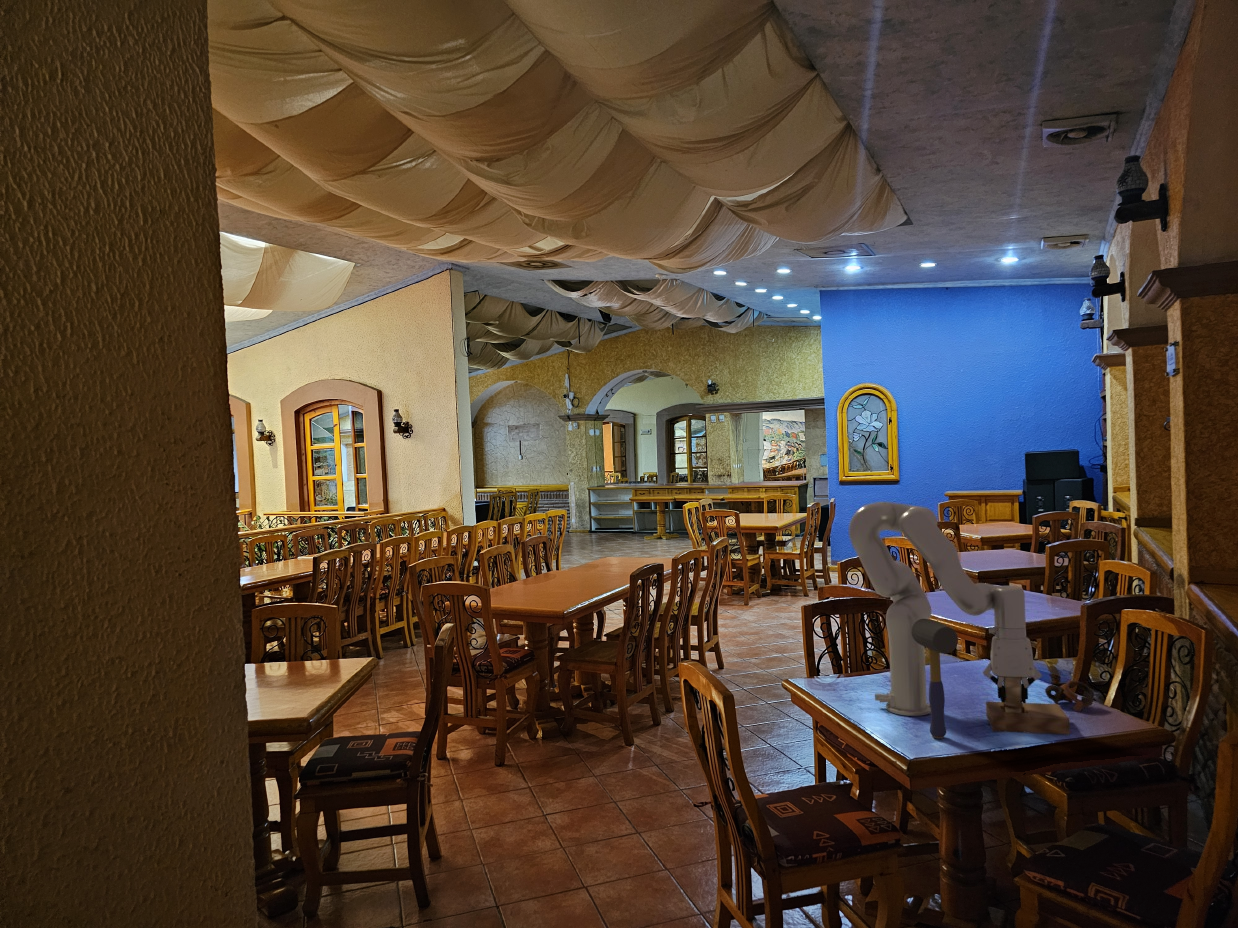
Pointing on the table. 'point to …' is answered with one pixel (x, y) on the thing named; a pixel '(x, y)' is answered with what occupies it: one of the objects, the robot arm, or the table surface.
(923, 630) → the rubber mallet
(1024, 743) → the table surface
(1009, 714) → the board
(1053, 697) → the dark looped piece
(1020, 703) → the peg
